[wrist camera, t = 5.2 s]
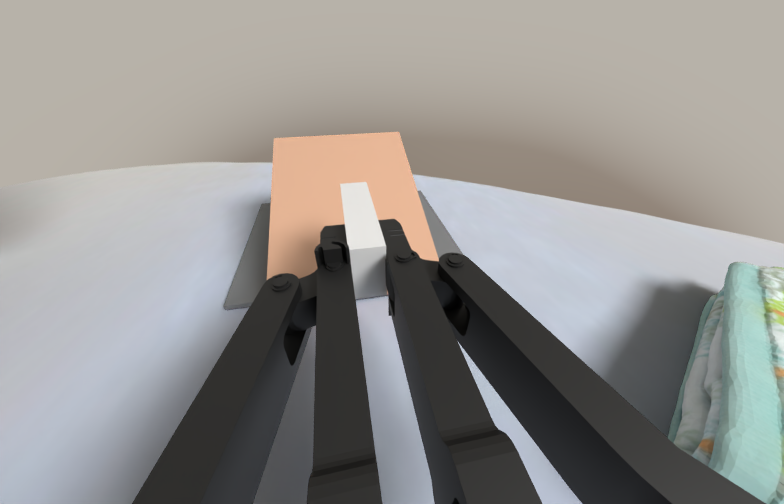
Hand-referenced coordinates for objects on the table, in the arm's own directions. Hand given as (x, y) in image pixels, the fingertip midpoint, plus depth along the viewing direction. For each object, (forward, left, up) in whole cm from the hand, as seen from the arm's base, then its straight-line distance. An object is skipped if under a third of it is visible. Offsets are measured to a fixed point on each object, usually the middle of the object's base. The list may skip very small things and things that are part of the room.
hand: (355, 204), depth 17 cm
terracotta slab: (0, 0, -7) cm, 7 cm away
